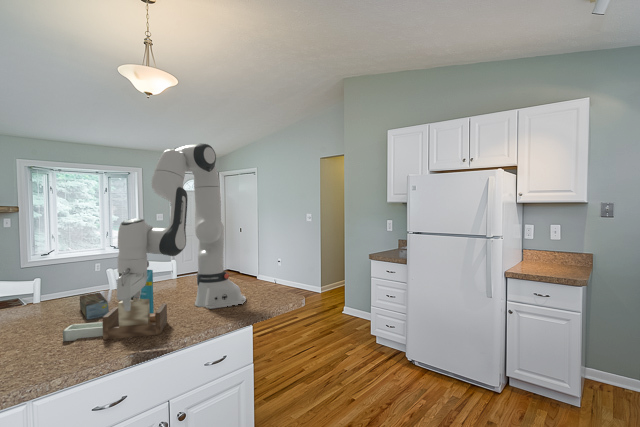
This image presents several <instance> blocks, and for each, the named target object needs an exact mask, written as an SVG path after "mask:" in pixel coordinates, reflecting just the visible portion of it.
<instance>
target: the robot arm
mask: <svg viewBox="0 0 640 427" xmlns="http://www.w3.org/2000/svg"><path fill="white" fill-rule="evenodd" d="M216 161H217V154H216V152H215V150H214V148H213V147H212V146H211V145H209V144H208V143H198V144H197V143H196V144H194V143H193V144H187V145H184V146H180V147H175V148H172V149H165V150H164V151H163V152H162V153H161V155H160V156H159V159H158V161H157V163H156V165H155V168H154V171H153V174H152V177H151V188H152V189H153V190H152V191H154V193H155V194H156V195H158V196H159V197H161V198H162V199H164V200H166V201H169V202H170V206H171V209H170V218H169V219H170V220H169V225H168V226H167V227H155V226H152V225H150V224H148V223H147V222H146V220H145V219H143V218H130V219H126V220H123V221H121V222H120V224H119V227H118V233H117V248H118V255H117V273H118V274H119V273H122V275H121V276H120V277H119V276H118V278H117V283H116V299H117V301H118V302H120V301H123V304H124V311H130V310H131V309H132V304H131V298H132V297H133V296H134V298H133V300H140V295H141V289H142V288H143V287H144V286H145V285H146V281H147V270H148V268H149V267H150V262H149V260H148V255H147V254H153V255H163V256H170V257H175V256H178V255H179V254H180V253H182V252H183V250H184V249H185V248H186V245H187V234H186V233H187V232H186V226H187V216H188V214H187V213H188V199H189V198H188V194H187V192H188V191H186V190H185V189H184V180H185V177H186V176H185V175H186V172H187V173H188V172H189V173H190V172H191V173H192V175H193V188H194V189H193V191H194V203H195V204H194V206H195V208H194V209H195V212H194V226H195V227H194V230H195V236H196V238H197V240H198V251H197V252H198V253H197V274H196V284H197V285H196V286H197V290H196V291H197V293H196V298H195V302H194V306H196V307H198V308H206V309H208V310H214V309H219V308H226V307H227V306H228V307H233V306H232V305H235V306H239V305H238V304H242V305H243V303H244V302H245V301H246V302H247V298H246V296H245V295H244V294H242V292H241V288H240V286H239V285H237V284H236V283H234V282H233V281H232V280H230V279H229V277H230V275H229V272H227V271H225V270H224V248H225V247H224V243H225V242H224V241H225V240H224V239H225V233H224V232H225V231H224V230H225V228H224V227H225V226H224V223H222V200H221V185H220V178H219V174H218V170H217V167H216ZM246 302H245V303H246ZM245 303H244V304H245Z"/></svg>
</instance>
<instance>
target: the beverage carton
mask: <svg viewBox="0 0 640 427" xmlns="http://www.w3.org/2000/svg"><path fill="white" fill-rule="evenodd" d="M79 308H80V310H81V312H82V314H83V315H84V318H85V319H86V320H93V319H98V318H102V317H103V316H105V315H106V314H107V313H108V312H109V302H108V300H107V299H106V298H105V296H103V294H102V293H101V292H94V293H87V294H82V295H80V296H79Z"/></svg>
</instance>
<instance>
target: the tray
mask: <svg viewBox="0 0 640 427" xmlns="http://www.w3.org/2000/svg"><path fill="white" fill-rule="evenodd" d="M95 337H103V321H99V322H88V323H75V324H71V325H69V326H67V327H66V328H64V330H62V342H70V341H76V340H77V339H85V338H86V339H87V338H95Z"/></svg>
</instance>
